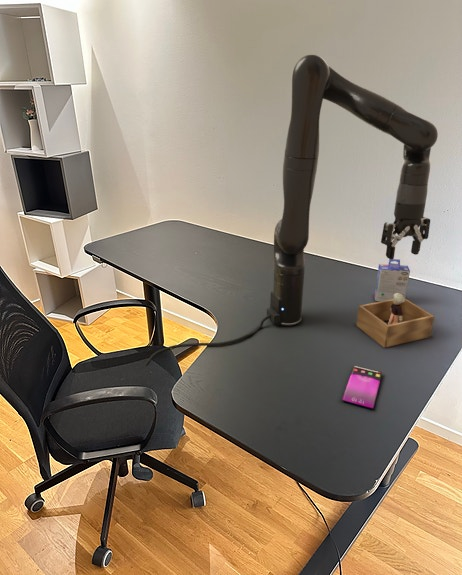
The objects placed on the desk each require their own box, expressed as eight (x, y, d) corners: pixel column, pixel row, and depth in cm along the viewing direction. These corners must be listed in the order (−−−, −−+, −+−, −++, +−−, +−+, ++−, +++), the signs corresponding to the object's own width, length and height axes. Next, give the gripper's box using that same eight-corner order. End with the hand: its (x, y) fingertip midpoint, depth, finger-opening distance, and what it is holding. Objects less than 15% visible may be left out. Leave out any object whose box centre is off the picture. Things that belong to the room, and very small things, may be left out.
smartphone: (381, 374, 114) (382, 371, 114) (372, 410, 102) (373, 407, 102) (353, 367, 117) (353, 365, 117) (341, 401, 105) (342, 398, 104)
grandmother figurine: (379, 325, 137) (385, 289, 132) (390, 324, 138) (396, 287, 133) (394, 338, 131) (400, 300, 125) (405, 336, 131) (412, 298, 126)
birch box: (384, 347, 126) (387, 326, 123) (356, 325, 138) (358, 305, 135) (430, 336, 131) (434, 316, 128) (399, 316, 143) (403, 297, 140)
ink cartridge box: (402, 297, 155) (409, 258, 149) (405, 304, 150) (412, 264, 144) (373, 294, 157) (379, 257, 151) (375, 301, 152) (381, 263, 146)
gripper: (421, 193, 123) (413, 248, 130) (379, 199, 119) (373, 255, 126) (442, 199, 117) (431, 256, 124) (398, 205, 112) (390, 264, 119)
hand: (402, 256), depth 125 cm, fingers open, 8 cm apart
